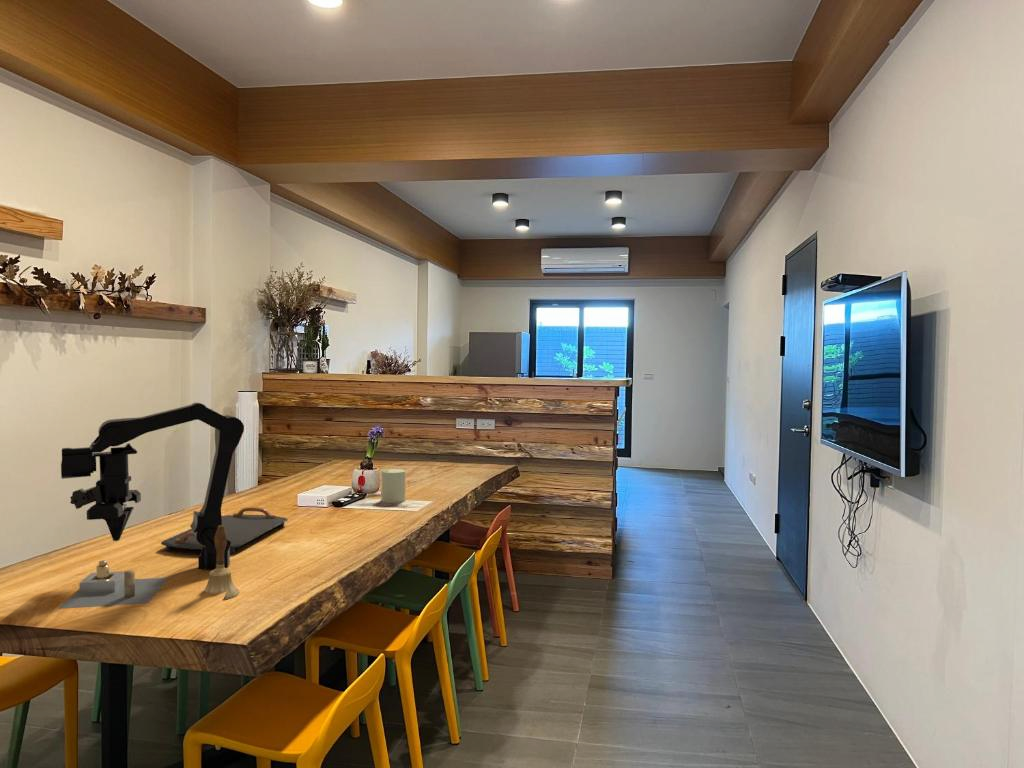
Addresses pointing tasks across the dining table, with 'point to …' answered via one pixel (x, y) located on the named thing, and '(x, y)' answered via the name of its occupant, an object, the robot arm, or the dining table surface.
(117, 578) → the square hole block
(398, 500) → the can
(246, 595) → the dining table surface
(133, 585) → the stand rod
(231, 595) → the hand bell
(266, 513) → the serving board
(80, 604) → the board
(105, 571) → the brass knobbed cylinder
